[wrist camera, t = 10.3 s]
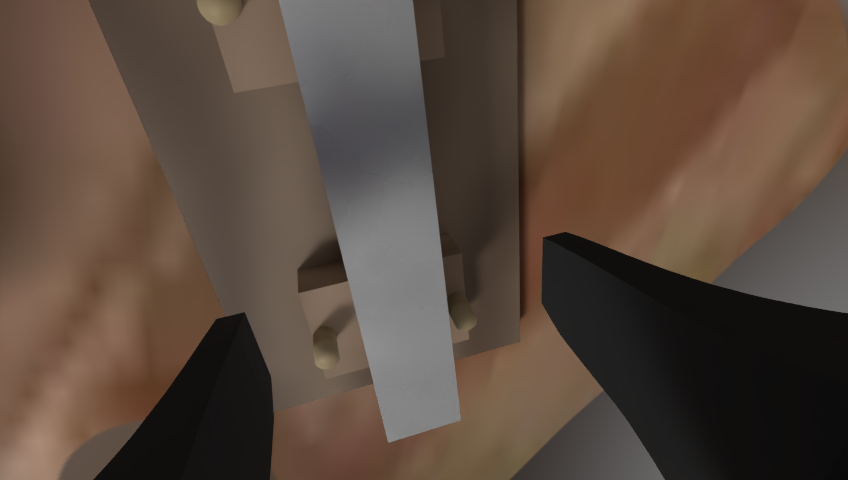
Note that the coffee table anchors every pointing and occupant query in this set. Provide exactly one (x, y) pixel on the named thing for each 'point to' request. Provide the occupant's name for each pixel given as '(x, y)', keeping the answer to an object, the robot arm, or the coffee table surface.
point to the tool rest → (302, 179)
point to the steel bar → (380, 196)
